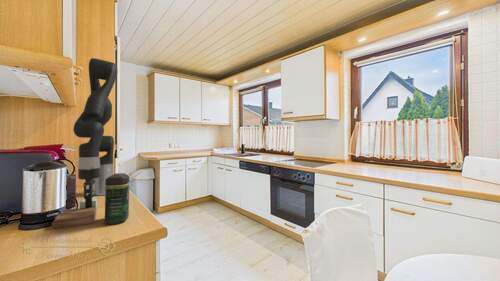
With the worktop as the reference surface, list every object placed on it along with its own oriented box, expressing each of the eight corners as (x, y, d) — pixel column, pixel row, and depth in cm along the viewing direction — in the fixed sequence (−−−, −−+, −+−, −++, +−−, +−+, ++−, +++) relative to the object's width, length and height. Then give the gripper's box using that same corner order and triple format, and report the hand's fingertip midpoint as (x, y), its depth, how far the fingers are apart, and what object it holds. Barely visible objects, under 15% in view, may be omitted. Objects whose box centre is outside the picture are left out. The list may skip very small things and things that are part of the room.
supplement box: (76, 208, 95) (76, 173, 95) (66, 212, 90) (66, 175, 90) (59, 207, 96) (59, 173, 96) (48, 211, 91) (48, 175, 91)
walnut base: (59, 218, 84) (59, 211, 84) (96, 212, 90) (96, 206, 90) (51, 230, 74) (51, 221, 73) (94, 222, 80) (94, 215, 80)
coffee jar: (126, 223, 80) (127, 175, 80) (102, 226, 77) (102, 176, 77) (130, 214, 89) (131, 171, 89) (108, 216, 86) (109, 172, 86)
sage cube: (81, 210, 92) (81, 198, 91) (96, 208, 95) (96, 196, 94) (79, 215, 87) (79, 202, 87) (96, 213, 90) (96, 200, 90)
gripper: (80, 165, 94) (81, 202, 95) (75, 170, 82) (75, 212, 83) (101, 164, 99) (101, 200, 99) (98, 168, 86) (98, 208, 87)
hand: (89, 205), depth 91 cm, fingers open, 6 cm apart
